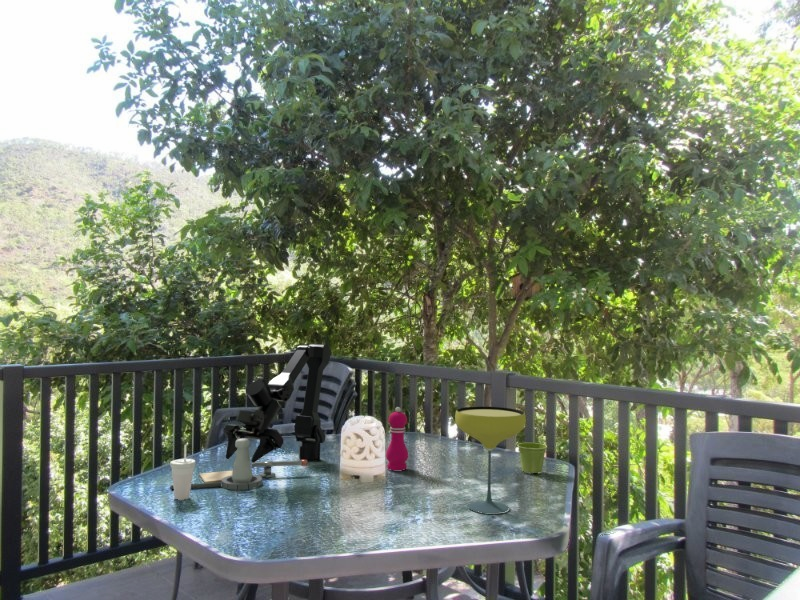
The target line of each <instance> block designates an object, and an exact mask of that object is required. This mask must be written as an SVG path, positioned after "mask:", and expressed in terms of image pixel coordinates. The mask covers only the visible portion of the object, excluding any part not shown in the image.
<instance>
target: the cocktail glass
mask: <svg viewBox="0 0 800 600" xmlns="http://www.w3.org/2000/svg"><path fill="white" fill-rule="evenodd" d="M454 418H455V420H454V421H455V425H456V427H458V428H459V429H460V431H462V432H463V433H465V434H466V435H468V436H469V437H472V438H473V439H475V440H477V441H478V442H480V444H482V446H483V448H484V449H485V450H486V451H488V454H487V455H488V458H487V459H488V467H487V469H488V470H487V471H488V473H487V492H486V494H487V495H486V499H485V500H479V501H473V503H472V502H470V503H469V504H468V505H469V506H468V505H467V508H468V507H469V508H470V509H472V510H474V511H477V512H478V511H479V512H482V513H499V512H505V511H507V510H508V508H509V507H510V506H509V505H507V504H506V505H507V506H506V505H505V503H502V502H499V501H493V499H492V487H491V484H492V483H491V474H492V472H491V470H492V467H491V465H492V464H491V462H492V461H491V459H492V451H493V450H495V448H496V447H497V446H498V445H499V444H500V443H501V442H504V441H505V440H507V439H510V438H512V437H515V436H516V435H518V434H520V432H522V430H524V429H525V426H526V421H527V418H526V413H525V412H524V411H523V410H520V409H516V408H510V407H500V406H466V407H460V408H457V409H456V411H455V417H454ZM508 506H509V507H508ZM469 508H468V509H469ZM470 509H469V510H470Z"/></svg>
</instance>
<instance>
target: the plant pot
mask: <svg viewBox="0 0 800 600" xmlns="http://www.w3.org/2000/svg"><path fill="white" fill-rule="evenodd" d="M516 444H517V443H516ZM516 446H517V447H518V451H519V457H520V465H521V471H522V472H523V471H524V472H530V473H538V472H541V471H542V472H543V466H544V460H545V454H546V450H547V449H548V446H547V445H546V444H543V443H539V442H519V443H518V444H517V445H516ZM524 472H523V473H524Z"/></svg>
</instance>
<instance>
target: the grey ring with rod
mask: <svg viewBox="0 0 800 600" xmlns="http://www.w3.org/2000/svg"><path fill="white" fill-rule="evenodd" d="M262 485H263V478H262V477H261V476H259V475H257V474H252V479H251V481H250V482H248V483H234V482H233V480H232V475H231V476H227V477H225V478H223V479H222V482H217V483H191V489H203V488H205V489H207V488H219V487H221V488H223V489H227V490H231V491H232V490H235V491H242V490H244V491H245V490H251V489H252V490H253V489H256V488H258V487H260V486H262ZM169 488H170V490H171V489H174V488H173V484H172V485H170V486H169Z"/></svg>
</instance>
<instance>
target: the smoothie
mask: <svg viewBox="0 0 800 600" xmlns="http://www.w3.org/2000/svg"><path fill="white" fill-rule="evenodd" d="M187 447H188V446H187V444H184V448H183V451H184V452H183V458H178V459H173V460H171V461H170V463H169V466H170V467H171V476H172V485H173V488H174V490H173V496H174V500H175V499H178V500H177V501H184V499H186V500H188V499H190V495H191V490H192V488H191V484H193V482H192V481H193V477H194V476H193V475H194V469H195V466H196V460H195V459H193V458H187Z"/></svg>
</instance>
